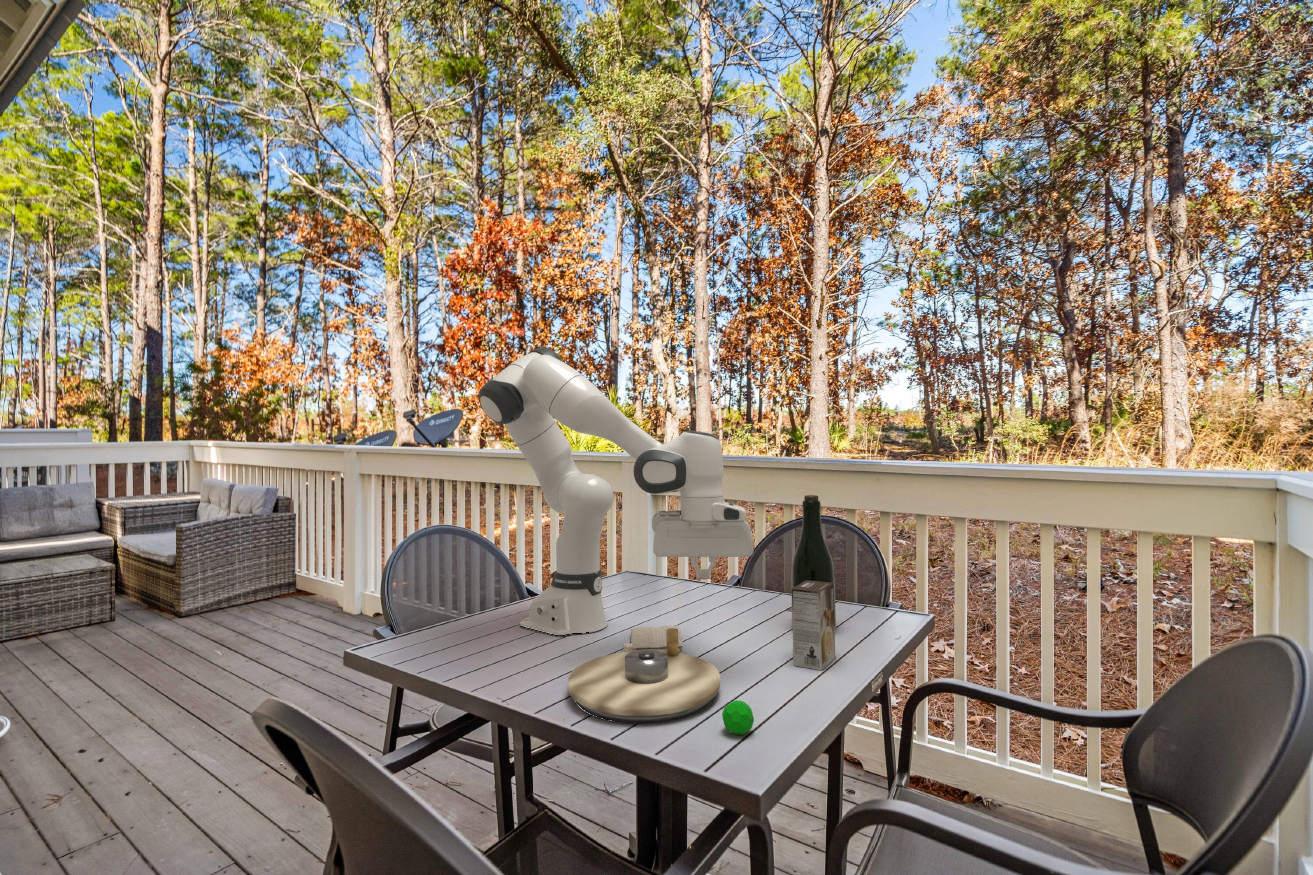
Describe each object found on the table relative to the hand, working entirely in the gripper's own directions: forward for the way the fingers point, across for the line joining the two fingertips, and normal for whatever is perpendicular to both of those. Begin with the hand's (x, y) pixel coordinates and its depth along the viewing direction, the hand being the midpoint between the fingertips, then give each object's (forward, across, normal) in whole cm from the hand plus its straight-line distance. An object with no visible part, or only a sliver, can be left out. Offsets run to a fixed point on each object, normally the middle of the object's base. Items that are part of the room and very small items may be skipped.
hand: (703, 578), depth 127 cm
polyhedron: (+19, +6, -27) cm, 33 cm away
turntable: (+17, -11, -12) cm, 23 cm away
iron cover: (+15, -10, -12) cm, 22 cm away
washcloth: (+19, -12, +16) cm, 28 cm away
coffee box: (+19, +22, +7) cm, 30 cm away
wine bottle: (+19, +25, +29) cm, 43 cm away
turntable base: (+19, -11, -12) cm, 25 cm away
